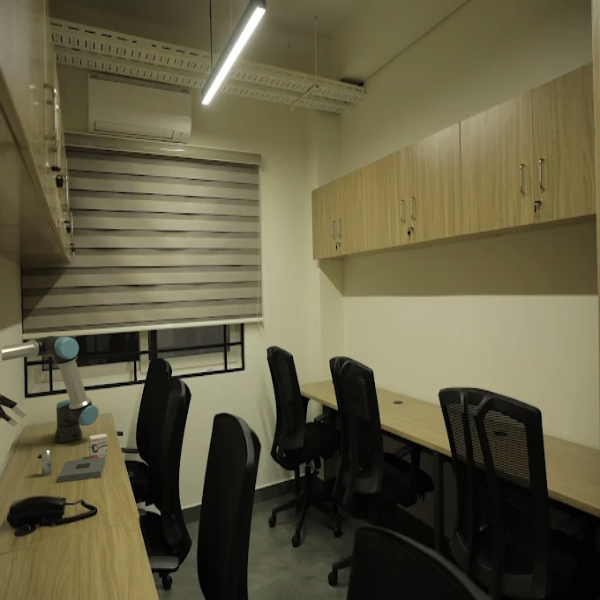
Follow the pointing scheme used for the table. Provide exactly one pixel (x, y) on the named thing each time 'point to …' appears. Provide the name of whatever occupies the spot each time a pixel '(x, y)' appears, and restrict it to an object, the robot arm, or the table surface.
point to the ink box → (98, 446)
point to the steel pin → (46, 462)
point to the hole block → (82, 469)
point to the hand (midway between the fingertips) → (20, 420)
